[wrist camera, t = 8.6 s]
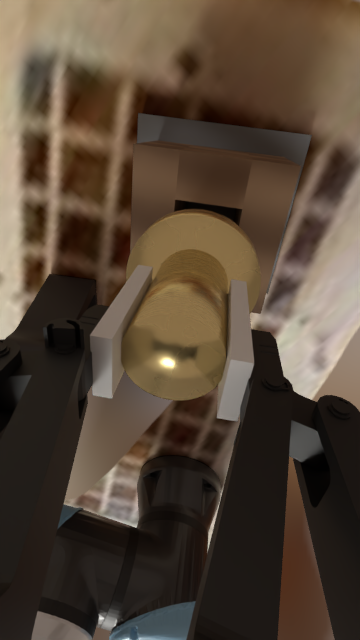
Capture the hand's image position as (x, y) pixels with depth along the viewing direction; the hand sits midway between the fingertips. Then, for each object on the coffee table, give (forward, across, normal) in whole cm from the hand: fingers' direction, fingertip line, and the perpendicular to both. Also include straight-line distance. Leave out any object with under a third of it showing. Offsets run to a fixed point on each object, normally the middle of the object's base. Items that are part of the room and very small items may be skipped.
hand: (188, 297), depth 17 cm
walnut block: (+22, 0, 0) cm, 22 cm away
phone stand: (+22, +16, +15) cm, 31 cm away
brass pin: (+11, 0, 0) cm, 11 cm away
